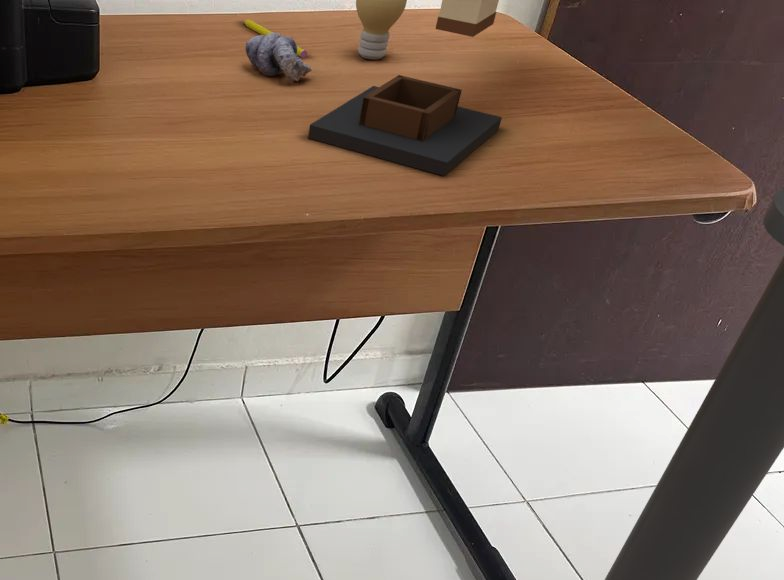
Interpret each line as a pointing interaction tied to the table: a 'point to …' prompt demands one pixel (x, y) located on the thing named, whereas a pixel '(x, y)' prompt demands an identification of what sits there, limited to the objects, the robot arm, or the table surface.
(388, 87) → the square socket base
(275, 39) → the grey knotted piece
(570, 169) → the table surface
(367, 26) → the light bulb
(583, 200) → the table surface
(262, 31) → the pencil
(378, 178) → the table surface
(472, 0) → the cream rectangular block
